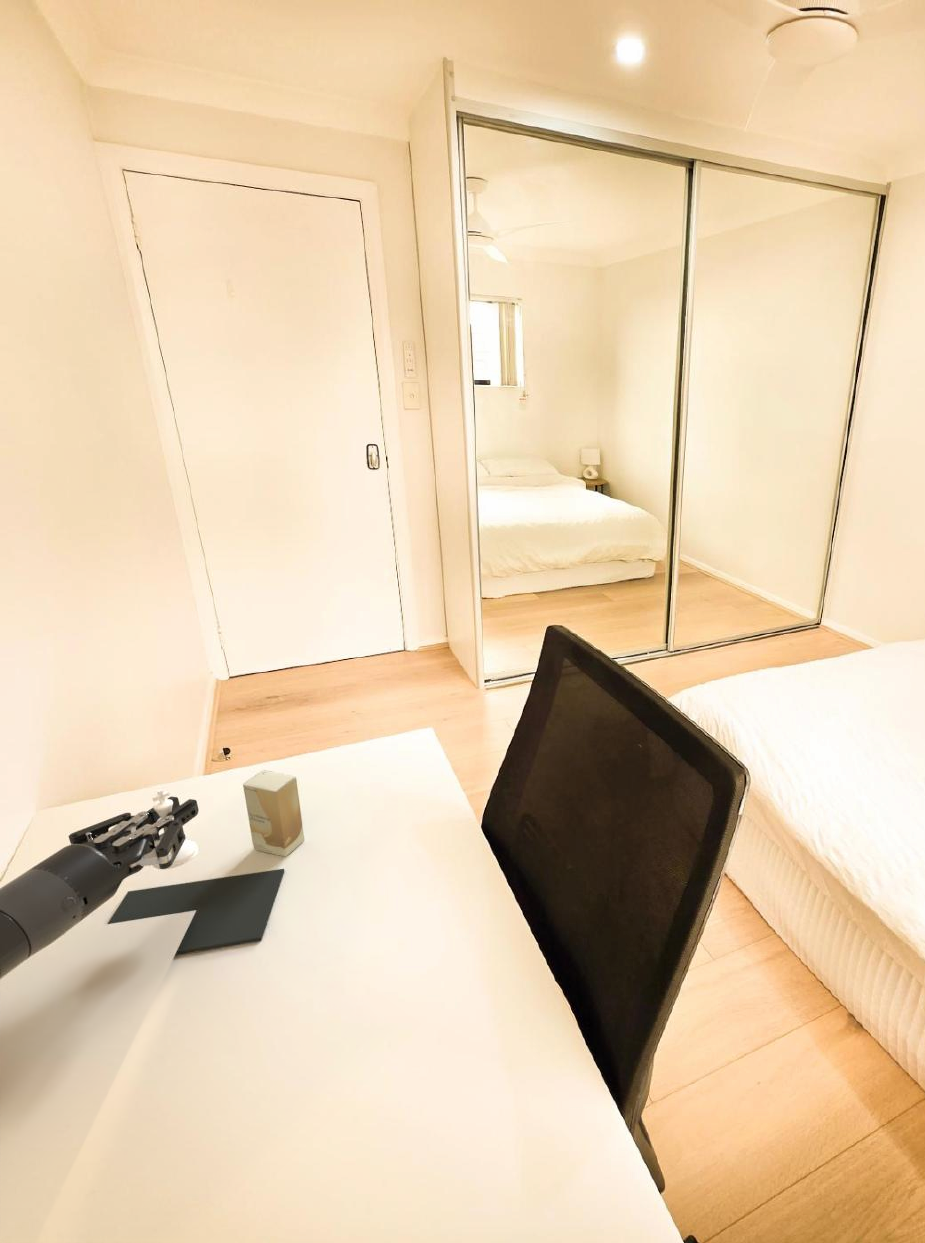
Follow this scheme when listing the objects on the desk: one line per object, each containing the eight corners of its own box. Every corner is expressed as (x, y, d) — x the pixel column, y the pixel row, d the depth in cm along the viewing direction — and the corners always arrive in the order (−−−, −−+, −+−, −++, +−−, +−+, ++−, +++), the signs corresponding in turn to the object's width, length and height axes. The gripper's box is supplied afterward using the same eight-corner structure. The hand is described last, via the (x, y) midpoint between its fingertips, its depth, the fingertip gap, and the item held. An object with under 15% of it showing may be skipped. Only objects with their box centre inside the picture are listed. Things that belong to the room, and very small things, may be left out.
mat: (79, 972, 75) (78, 968, 75) (129, 894, 87) (128, 891, 86) (261, 940, 80) (260, 937, 80) (284, 871, 92) (284, 868, 92)
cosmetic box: (252, 850, 96) (239, 783, 92) (273, 832, 100) (261, 768, 96) (287, 858, 95) (275, 791, 91) (307, 840, 99) (296, 775, 95)
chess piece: (206, 852, 80) (191, 787, 77) (163, 875, 76) (146, 807, 73) (186, 839, 82) (171, 775, 79) (144, 860, 78) (127, 793, 75)
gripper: (3, 918, 66) (146, 820, 82) (112, 939, 64) (237, 834, 80) (-18, 861, 64) (134, 772, 80) (95, 881, 62) (228, 785, 78)
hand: (185, 804), depth 80 cm, fingers closed on chess piece
